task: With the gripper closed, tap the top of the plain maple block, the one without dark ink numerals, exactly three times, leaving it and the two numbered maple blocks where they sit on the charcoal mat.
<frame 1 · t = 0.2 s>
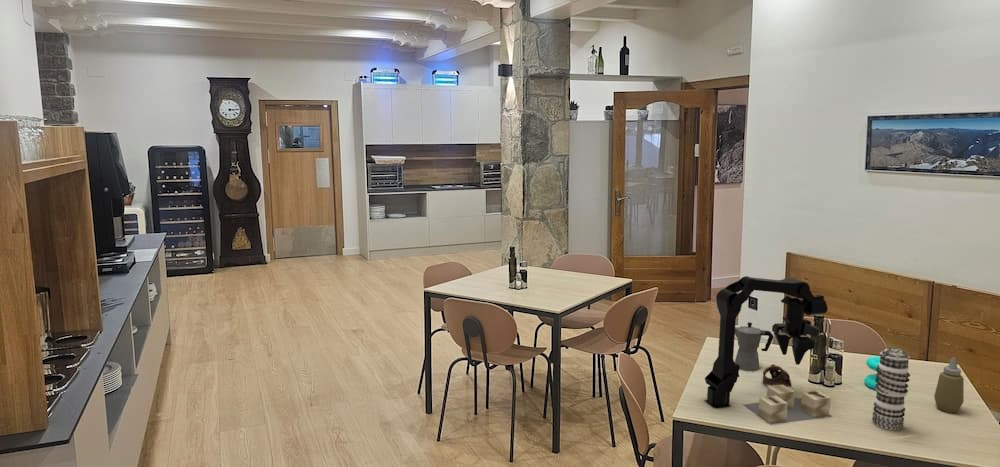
hand: (790, 359, 224), 14 cm above the table, tool pointing down, fingers open, 9 cm apart
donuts: (879, 387, 236), on the table
squeeze bottle: (947, 409, 217), on the table
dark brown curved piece: (776, 385, 238), on the table
coffeepot: (749, 367, 254), on the table
decorative candle: (886, 426, 206), on the table
numbered block one: (772, 417, 210), point 1 cm above the table, touching charcoal mat
numbered block seven: (814, 412, 214), point 1 cm above the table, touching charcoal mat
charcoal mat: (786, 412, 216), on the table
plain block: (779, 405, 219), point 1 cm above the table, touching charcoal mat
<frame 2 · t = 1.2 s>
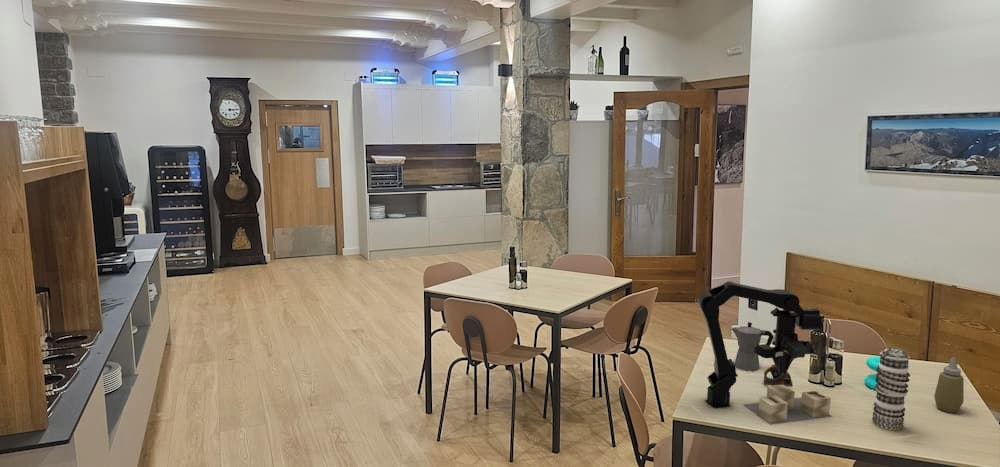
hand: (782, 373, 217), 12 cm above the table, tool pointing down, fingers closed
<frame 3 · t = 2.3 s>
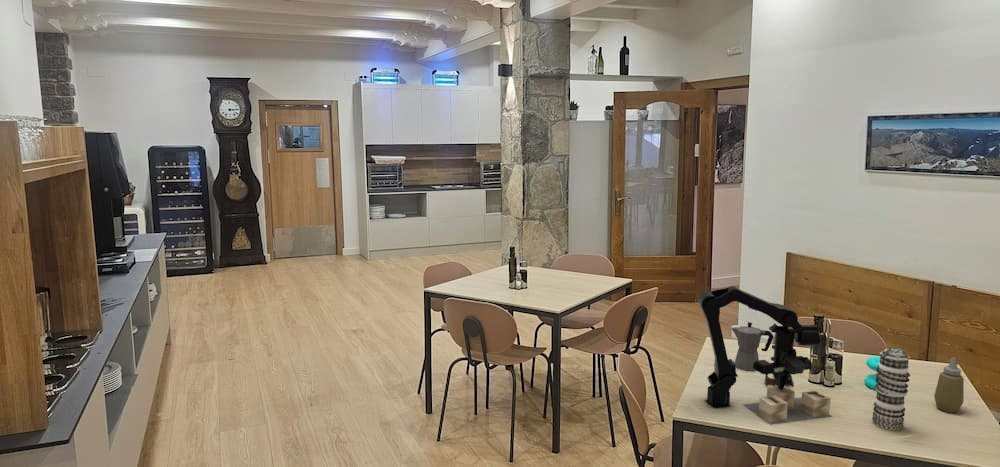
hand: (780, 389, 218), 7 cm above the table, tool pointing down, fingers closed, pressing on plain block
plain block: (779, 405, 219), point 1 cm above the table, touching charcoal mat, gripper
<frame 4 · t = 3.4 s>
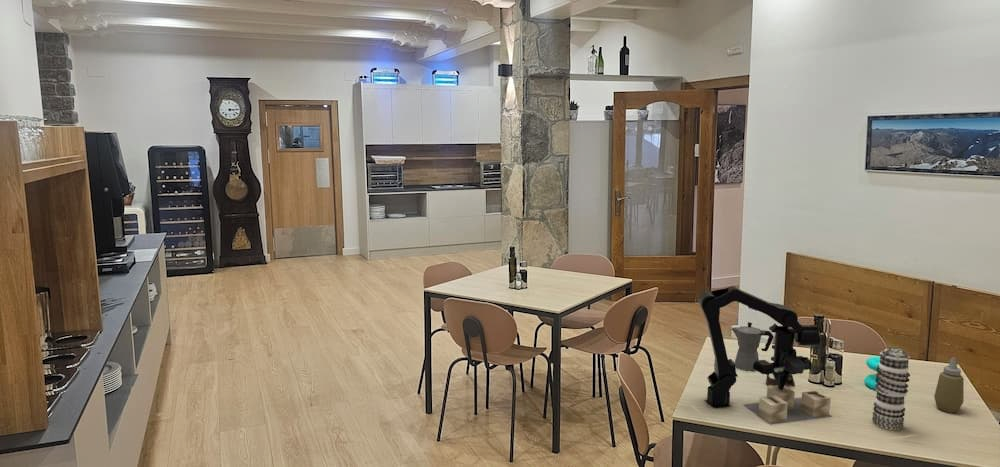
hand: (780, 389, 218), 7 cm above the table, tool pointing down, fingers closed, pressing on plain block
plain block: (779, 405, 219), point 1 cm above the table, touching charcoal mat, gripper
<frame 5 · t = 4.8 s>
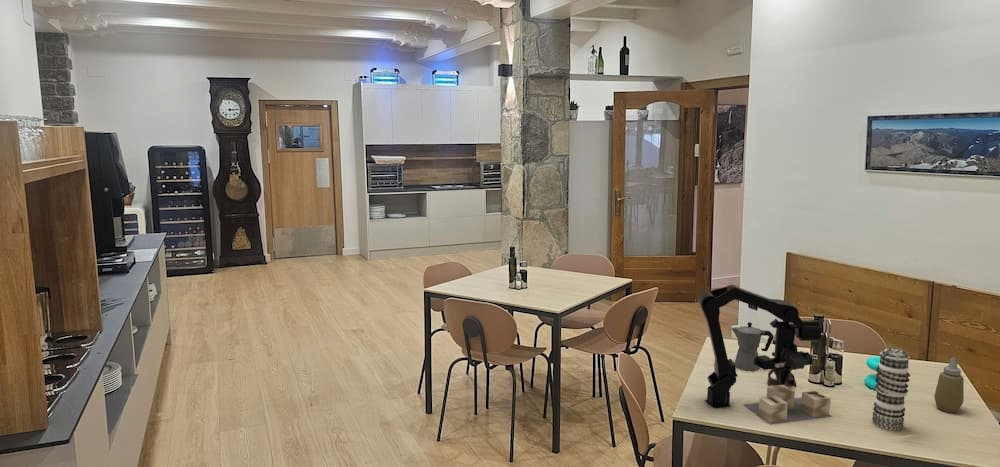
hand: (781, 384, 218), 8 cm above the table, tool pointing down, fingers closed
plain block: (779, 405, 219), point 1 cm above the table, touching charcoal mat
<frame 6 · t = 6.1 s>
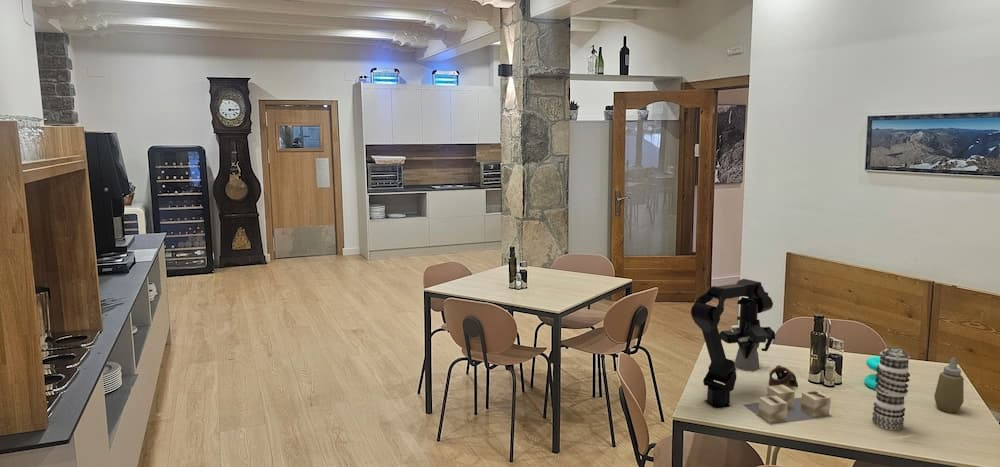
hand: (745, 358, 228), 13 cm above the table, tool pointing down, fingers closed
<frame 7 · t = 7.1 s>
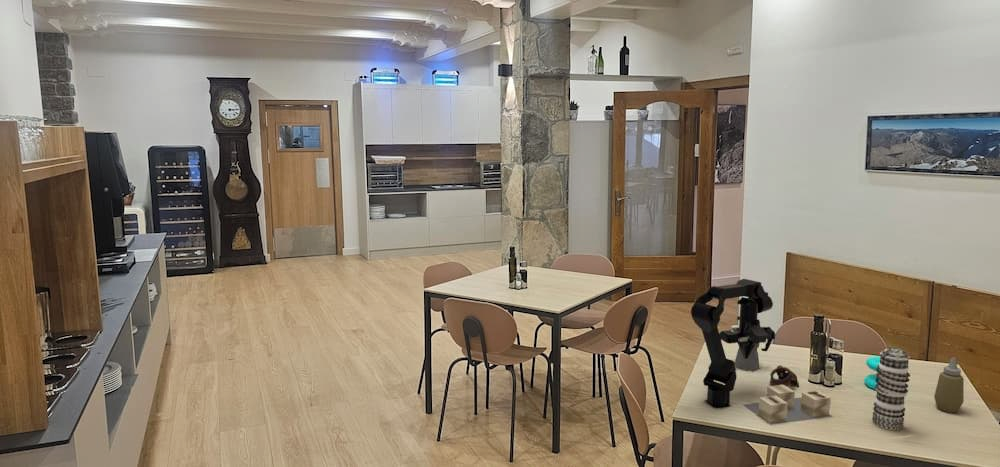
hand: (745, 358, 228), 13 cm above the table, tool pointing down, fingers closed
at the end: plain block moved 0.0 cm from its start; plain block tilted 0°; numbered block one moved 0.0 cm from its start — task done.
